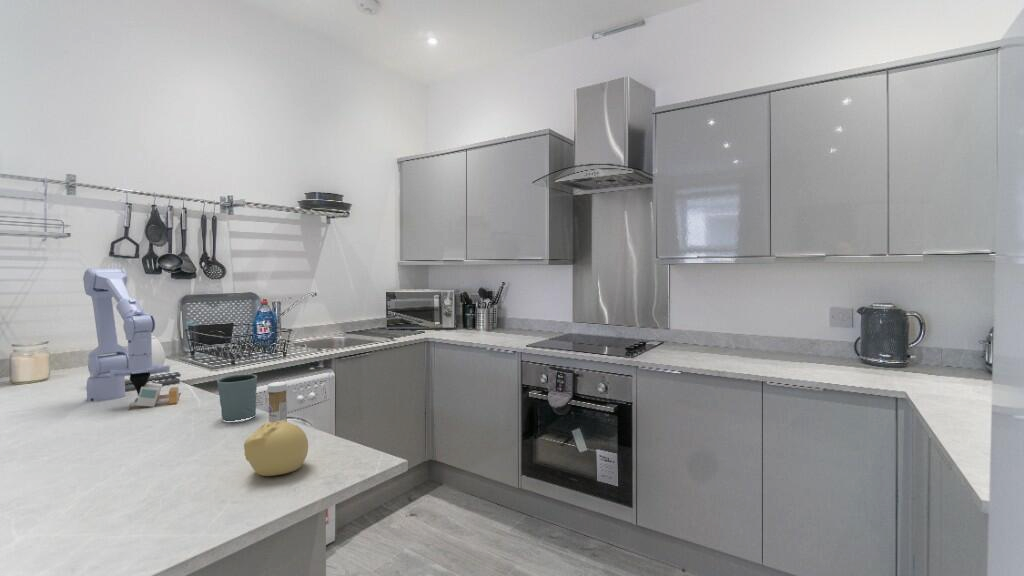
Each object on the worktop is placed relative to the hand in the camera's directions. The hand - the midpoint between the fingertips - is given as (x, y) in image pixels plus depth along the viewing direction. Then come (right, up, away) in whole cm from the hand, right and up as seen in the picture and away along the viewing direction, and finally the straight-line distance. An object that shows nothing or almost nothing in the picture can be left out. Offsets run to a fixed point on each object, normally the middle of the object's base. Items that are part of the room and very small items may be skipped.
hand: (141, 397), depth 147 cm
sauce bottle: (-37, -2, +54) cm, 65 cm away
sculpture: (+64, -6, -44) cm, 78 cm away
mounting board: (+1, -4, +5) cm, 7 cm away
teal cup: (+34, -5, -8) cm, 36 cm away
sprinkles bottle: (+52, -5, -20) cm, 56 cm away
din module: (+1, -2, +1) cm, 2 cm away
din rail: (+3, -2, +2) cm, 4 cm away
